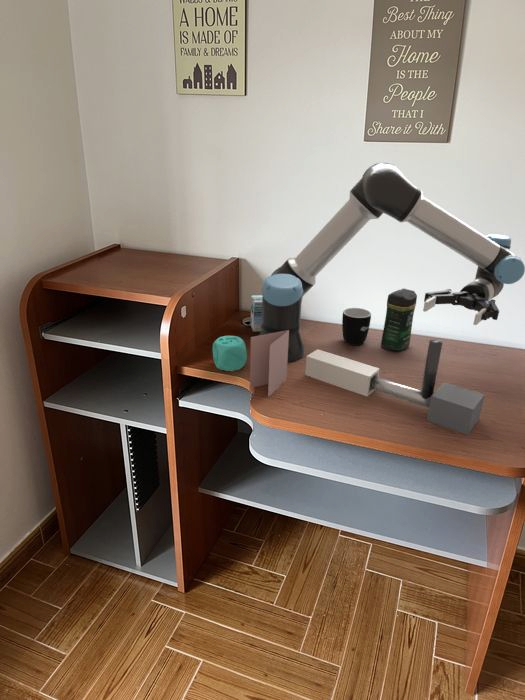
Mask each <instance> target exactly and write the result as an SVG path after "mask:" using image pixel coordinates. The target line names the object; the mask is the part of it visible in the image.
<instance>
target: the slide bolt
mask: <svg viewBox="0 0 525 700" xmlns="http://www.w3.org/2000/svg"><path fill="white" fill-rule="evenodd" d="M442 348H443V341H442V340H439V339H430V340H429V341H428V348H427V355H426V359H425V367H424V372H423V378H422V383H421V387H420V388H421V389H420V390H419V389H416V388H414V387H410V386H408V385H404V384H401V383H397V382H395V381H392V380H388V379H385V378H382V377H380V376H379V377H377V376H373V377H372V378H371V380H370V389H373V390H374V391H376V392H379V393H383V394H386V395H388V396H391V397H394V398H397V399H400V400H404V401H406V402H409V403H412V404H415V405H417V406H421V407H424V408H427V409H429V406H430V400H431V396H432V395H433V394H434V393H435V386H436V382H437V380H436V379H437V375H438V371H439V369H438V368H439V364H440V359H441V353H442Z"/></svg>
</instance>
